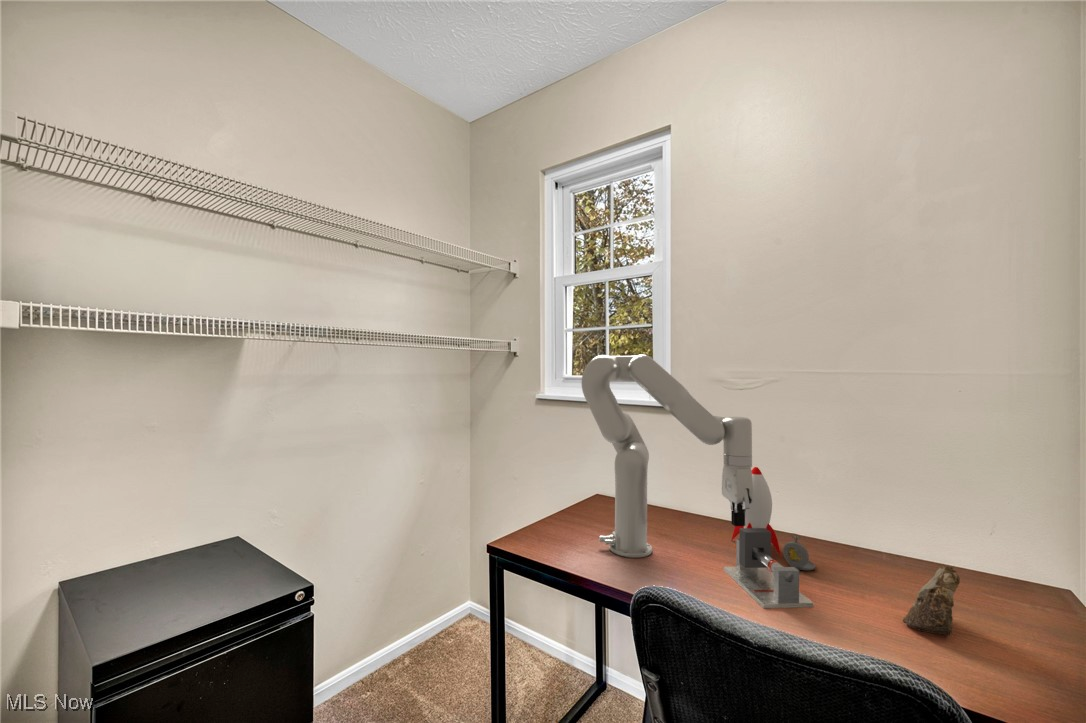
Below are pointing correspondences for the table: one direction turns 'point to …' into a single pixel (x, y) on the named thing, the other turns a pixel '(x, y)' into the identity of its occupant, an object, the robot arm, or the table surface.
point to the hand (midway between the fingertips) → (738, 525)
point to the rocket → (759, 508)
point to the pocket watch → (797, 555)
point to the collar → (753, 546)
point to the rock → (935, 603)
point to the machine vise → (769, 582)
